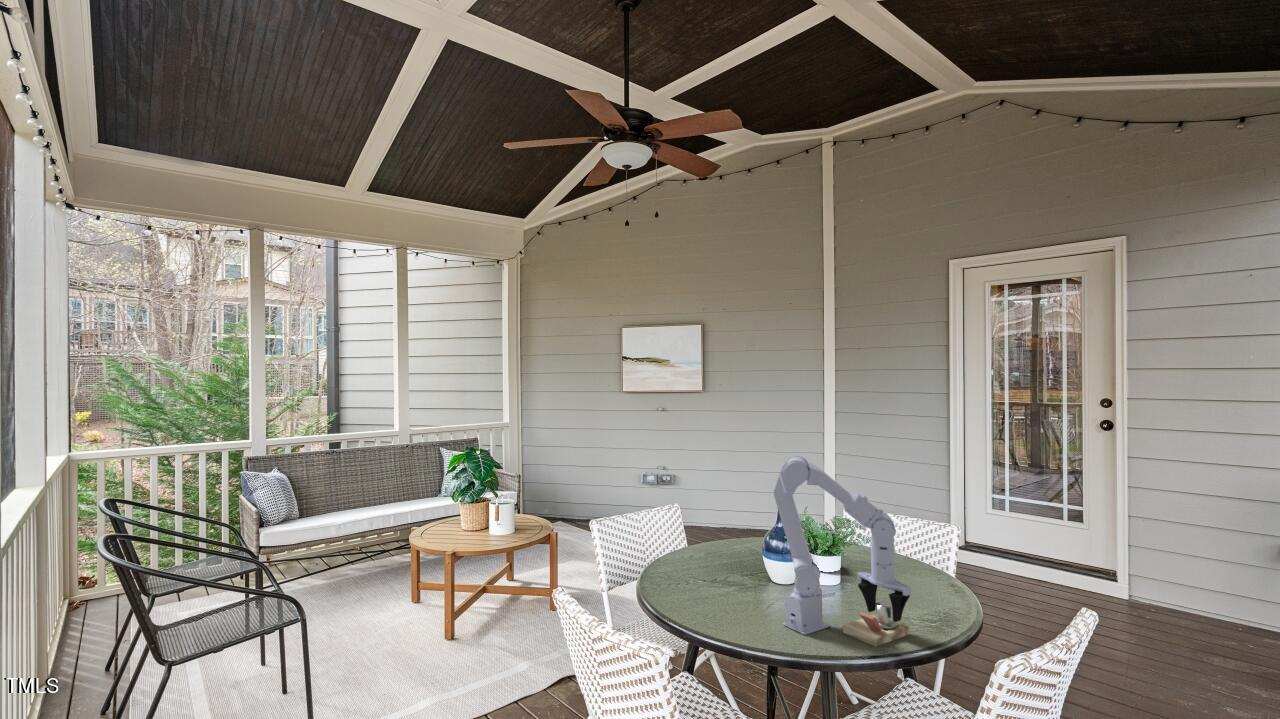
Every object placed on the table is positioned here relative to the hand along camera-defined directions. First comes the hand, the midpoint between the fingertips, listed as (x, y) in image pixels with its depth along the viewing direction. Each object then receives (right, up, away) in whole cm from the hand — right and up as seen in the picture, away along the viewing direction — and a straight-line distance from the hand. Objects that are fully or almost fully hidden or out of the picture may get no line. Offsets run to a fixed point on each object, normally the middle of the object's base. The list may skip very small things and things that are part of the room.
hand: (884, 615), depth 161 cm
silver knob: (0, -4, 0) cm, 4 cm away
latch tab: (-5, -1, -3) cm, 5 cm away
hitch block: (-2, -4, 0) cm, 5 cm away
